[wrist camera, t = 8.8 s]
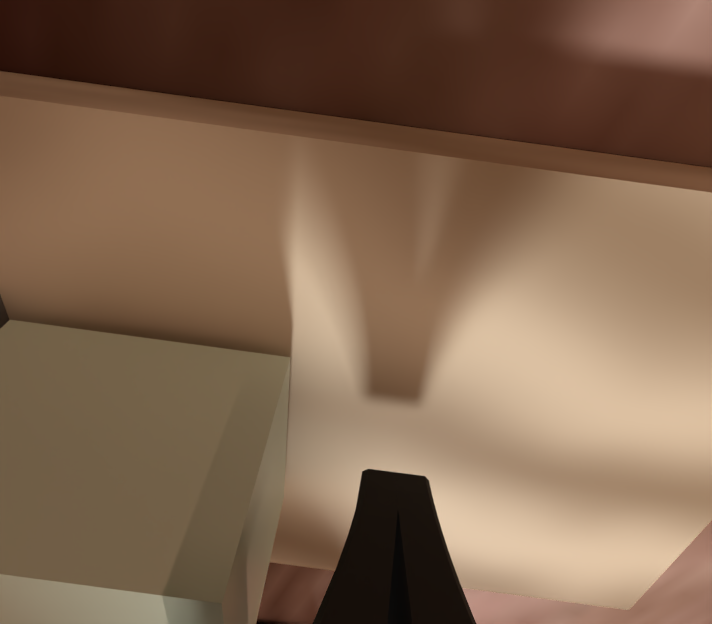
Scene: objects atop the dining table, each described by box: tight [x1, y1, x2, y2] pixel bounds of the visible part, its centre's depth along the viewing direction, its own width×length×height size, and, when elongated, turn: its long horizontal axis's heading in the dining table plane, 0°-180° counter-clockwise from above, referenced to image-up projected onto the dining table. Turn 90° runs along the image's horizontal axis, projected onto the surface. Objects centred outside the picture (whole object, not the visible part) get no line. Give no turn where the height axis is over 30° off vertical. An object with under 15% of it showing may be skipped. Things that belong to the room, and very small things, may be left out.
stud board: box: [0, 71, 712, 610], centre depth 11 cm, size 14×22×6 cm, turn 84°
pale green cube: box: [0, 320, 290, 624], centre depth 10 cm, size 5×6×5 cm
